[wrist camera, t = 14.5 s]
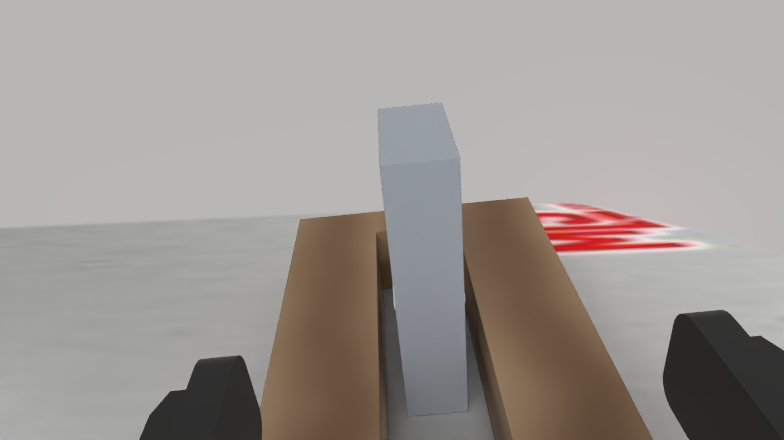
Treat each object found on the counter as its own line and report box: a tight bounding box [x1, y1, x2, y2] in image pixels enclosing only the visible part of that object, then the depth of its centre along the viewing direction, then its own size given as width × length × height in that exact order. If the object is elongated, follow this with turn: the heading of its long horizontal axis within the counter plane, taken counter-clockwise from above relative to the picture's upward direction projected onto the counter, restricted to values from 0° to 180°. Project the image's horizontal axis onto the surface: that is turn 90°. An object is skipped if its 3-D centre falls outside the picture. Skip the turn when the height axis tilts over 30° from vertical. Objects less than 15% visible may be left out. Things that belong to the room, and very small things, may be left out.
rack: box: [260, 198, 653, 440], centre depth 23 cm, size 12×16×4 cm
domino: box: [378, 103, 468, 417], centre depth 21 cm, size 2×5×11 cm, turn 2°
